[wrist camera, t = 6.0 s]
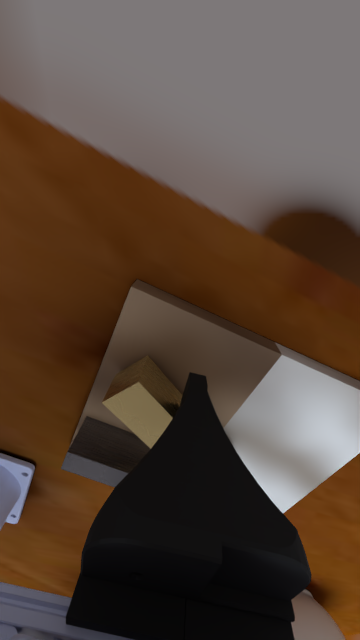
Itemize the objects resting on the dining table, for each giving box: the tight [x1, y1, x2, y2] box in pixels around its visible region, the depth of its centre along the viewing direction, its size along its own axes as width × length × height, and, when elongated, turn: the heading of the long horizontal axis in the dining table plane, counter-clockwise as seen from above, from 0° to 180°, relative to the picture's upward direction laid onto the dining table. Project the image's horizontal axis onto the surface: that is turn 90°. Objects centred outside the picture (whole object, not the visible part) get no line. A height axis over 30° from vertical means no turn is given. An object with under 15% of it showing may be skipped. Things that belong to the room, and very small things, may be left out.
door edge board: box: [66, 279, 360, 513], centre depth 15 cm, size 14×16×1 cm
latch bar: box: [102, 355, 182, 448], centre depth 13 cm, size 9×3×3 cm, turn 36°
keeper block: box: [61, 416, 151, 487], centre depth 14 cm, size 2×4×2 cm, turn 65°
